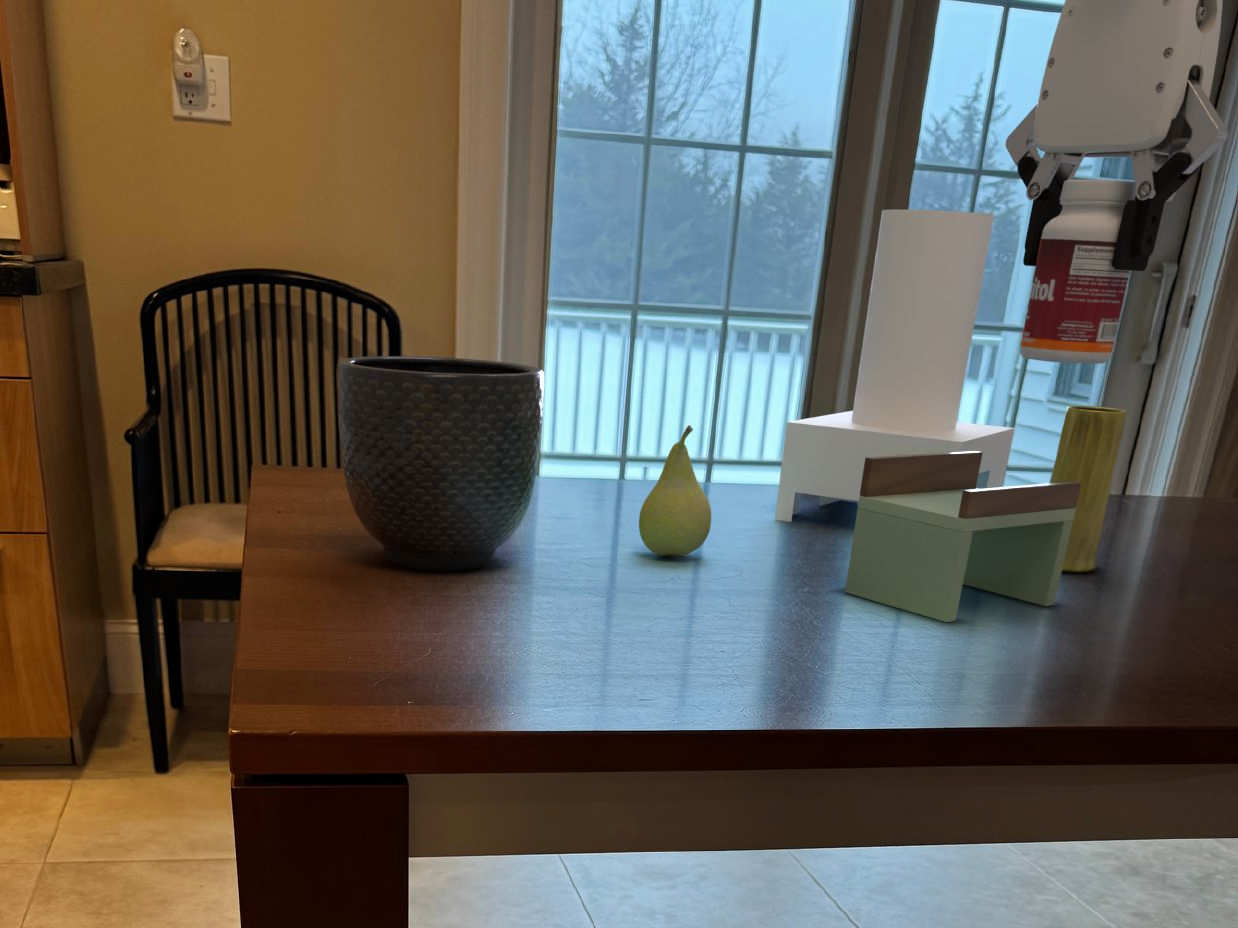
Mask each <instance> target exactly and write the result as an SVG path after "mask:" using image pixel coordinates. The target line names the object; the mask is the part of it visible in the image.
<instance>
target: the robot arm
mask: <svg viewBox="0 0 1238 928" xmlns="http://www.w3.org/2000/svg"><path fill="white" fill-rule="evenodd" d="M1223 1H1224V0H1065V1H1064V4H1063V6H1062V10H1061V13H1060V15H1059V18H1058V21H1057V25H1056V28H1055V31H1054V35H1053V39H1052V42H1051V46H1050V49H1049V52H1048V57H1047V60H1046V65H1045V69H1044V73H1043V77H1042V81H1041V86H1040V90H1039V94H1038V99H1037V103H1036V105H1035V106H1034V107H1033V108H1032V109H1031V110H1030V111H1029V112H1028V113H1027V115H1026V116H1025V117H1024V118H1023V119H1022V120H1021V121H1020V123H1018V125H1017V126H1016V127H1015V128H1014V129H1013V130H1012V131H1011V132H1010V134H1008V136H1007V137H1006V140H1005V148H1006V150H1007V152H1008V154H1009V156H1010V158H1011V159H1012V161H1013V163H1014V165H1015V166H1016V168H1017V173H1018V175H1019V177H1020V179H1021V181H1022V182H1023V185H1024V186H1025V188H1026V191H1025V192H1026V193H1025V194H1026V195H1025V196H1026V198H1027V199H1028V200H1029V201H1032V205H1031V210H1030V215H1029V220H1028V225H1027V230H1026V235H1025V240H1024V254H1023V257H1022V258H1023V259H1022V263H1023V265H1024V266H1025V267H1036V262H1037V257H1038V252H1039V247H1040V241H1041V237H1042V232H1043V229H1044V227H1045V226H1046V224H1047V223H1048V222H1049V221H1050V220H1052V219H1053V218H1055V217H1057V216H1059V215H1060V213H1061V211H1062V207H1063V205H1061V204H1060V197H1061V193H1062V188H1063V184H1064V181H1066V180H1074V177H1075V175H1076V173H1077V172H1078V170H1079V168H1080V166H1081V164H1082V162H1083V160H1084V159H1105V158H1106V159H1110V158H1111V159H1115V158H1131V164H1132V172H1133V173H1132V174H1133V182H1134V183H1135V191H1136V196H1135V200H1127V203H1126V205H1125V206H1124V210H1123V215H1122V220H1121V224H1120V229H1119V233H1118V238H1117V242H1116V247H1115V251H1114V256H1113V260H1112V267H1114V269H1115V270H1130V272H1132V271H1133V272H1144V271H1146V269H1147V267H1148V264H1149V259H1150V257H1151V256H1152V254H1153V252H1154V250H1155V247H1156V243H1157V239H1158V233H1159V230H1160V225H1161V220H1162V217H1163V212H1164V208H1165V204H1167V203H1170V202H1171V201H1172V200H1173V199H1174V198H1175V197H1176V194H1177V191H1178V190H1179V189H1181V187H1182V186H1184V184H1185V183H1186V182H1187V181H1189V179H1190V178H1192V177H1193V176H1194V174H1196V173H1197V172H1198V171H1199V169H1200V166H1201V165H1202V164H1203V163H1205V162H1206V161H1207V160H1208V159H1210V157H1211V156H1212V155H1214V154H1215V152H1216V151H1218V150H1219V149H1220V148H1221V146H1222V145H1223V144H1224V143H1226V141H1227V139H1228V137H1229V131H1228V128H1227V126H1226V125H1225V123H1224V121H1223V120H1222V119H1221V116H1220V115H1219V113H1218V112H1217V110H1216V108H1215V107H1214V105H1213V104H1212V102H1211V100H1210V99H1211V98H1210V97H1211V92H1212V86H1213V81H1214V75H1215V70H1216V64H1217V63H1216V62H1217V57H1218V51H1219V43H1220V36H1221V27H1222V26H1221V25H1222V15H1223V3H1224V2H1223ZM1039 150H1040V151H1041V152H1044V153H1043V156H1042V157H1041V155H1040V151H1039Z"/></svg>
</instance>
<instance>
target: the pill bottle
mask: <svg viewBox="0 0 1238 928" xmlns="http://www.w3.org/2000/svg"><path fill="white" fill-rule="evenodd" d="M1135 196H1136V191H1135V183H1134V180H1133V181H1131V180H1121V179H1120V180H1117V179H1072V180H1066V181H1064V184H1063V188H1062V193H1061V197H1060V204H1061V205H1063V207H1062V211H1061V213H1060V215H1059V216H1057V217H1055V218H1053V219H1052V220H1050V221H1049V222H1048V223H1047V224H1046V226H1045V227H1044V229H1043V232H1042V237H1041V241H1040V247H1039V252H1038V257H1037V262H1036V266H1035V269H1034V273H1033V277H1032V283H1031V289H1030V294H1029V295H1030V296H1029V301H1028V305H1027V310H1026V315H1025V320H1024V325H1023V330H1022V335H1021V339H1020V346H1019V354H1020V356H1021V357H1022V358H1024V359H1027V360H1035V361H1041V362H1050V363H1061V364H1062V363H1065V364H1087V365H1088V364H1090V365H1091V364H1092V365H1093V364H1094V365H1096V364H1097V365H1098V364H1099V365H1100V364H1105V363H1106V362H1108V361H1109V360H1110V358H1111V357H1112V353H1113V349H1114V345H1115V340H1116V336H1117V331H1118V327H1119V323H1120V319H1121V314H1122V309H1123V304H1124V300H1125V296H1126V291H1127V287H1128V282H1129V278H1130V274H1131V271H1130V270H1115V269H1114V267H1112V260H1113V256H1114V251H1115V247H1116V242H1117V238H1118V233H1119V229H1120V224H1121V220H1122V215H1123V210H1124V206H1125V205H1126V203H1127V200H1135Z"/></svg>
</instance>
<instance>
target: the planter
mask: <svg viewBox="0 0 1238 928" xmlns="http://www.w3.org/2000/svg"><path fill="white" fill-rule="evenodd" d="M545 384H546V383H545V373H544V371H543V369H541V368H540V367H536V366H532V365H527V364H520V363H513V362H506V361H505V362H504V361H495V360H485V359H473V358H459V357H458V358H456V357H438V356H406V355H403V356H401V355H390V356H389V355H387V356H386V355H384V356H383V355H382V356H381V355H380V356H358V357H357V356H356V357H347V358H342V359H339V360H338V362H337V364H336V391H337V392H336V395H337V396H336V398H337V399H336V400H337V401H336V402H337V421H338V433H339V445H340V453H341V461H342V467H343V468H342V469H343V475H344V480H345V481H344V482H345V485H346V490H347V494H348V497H349V500H350V503H351V505H352V508H353V510H354V513H355V515H356V517H357V518H358V520H359V522H360V523H361V524H362V525H361V526H363V527H364V529H365V530H366V532H368V534H369V535H370V536H371V537H372V538H373V539H374V540H376V541H377V542H378V543H380V545H381V546H382V547H383V550H384V552H385V555H386V556H387V558H388V559H389V561H390V562H392V563H393V564H395V565H398V566H401V567H404V568H407V569H413V570H419V571H428V572H462V571H463V572H464V571H472V570H476V569H480V568H483V567H485V566H487V565H488V564H490V563H491V561H492V559H493V557H494V555H495V552H496V550H497V549H498V548H499V547H501V546H502V545H503V544H505V543H506V542H507V541H508V540H509V539H510V538H511V537H512V536H513V535H514V534H515V532H516V531H517V530H518V529H519V527H520V526H521V525H522V522H523V520H524V518H525V517H526V514H527V511H528V509H529V506H530V503H531V500H532V496H533V492H534V488H535V485H536V478H537V471H538V464H539V459H540V451H541V442H542V441H541V440H542V431H543V421H544V419H543V418H544V401H545V399H544V398H545Z"/></svg>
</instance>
